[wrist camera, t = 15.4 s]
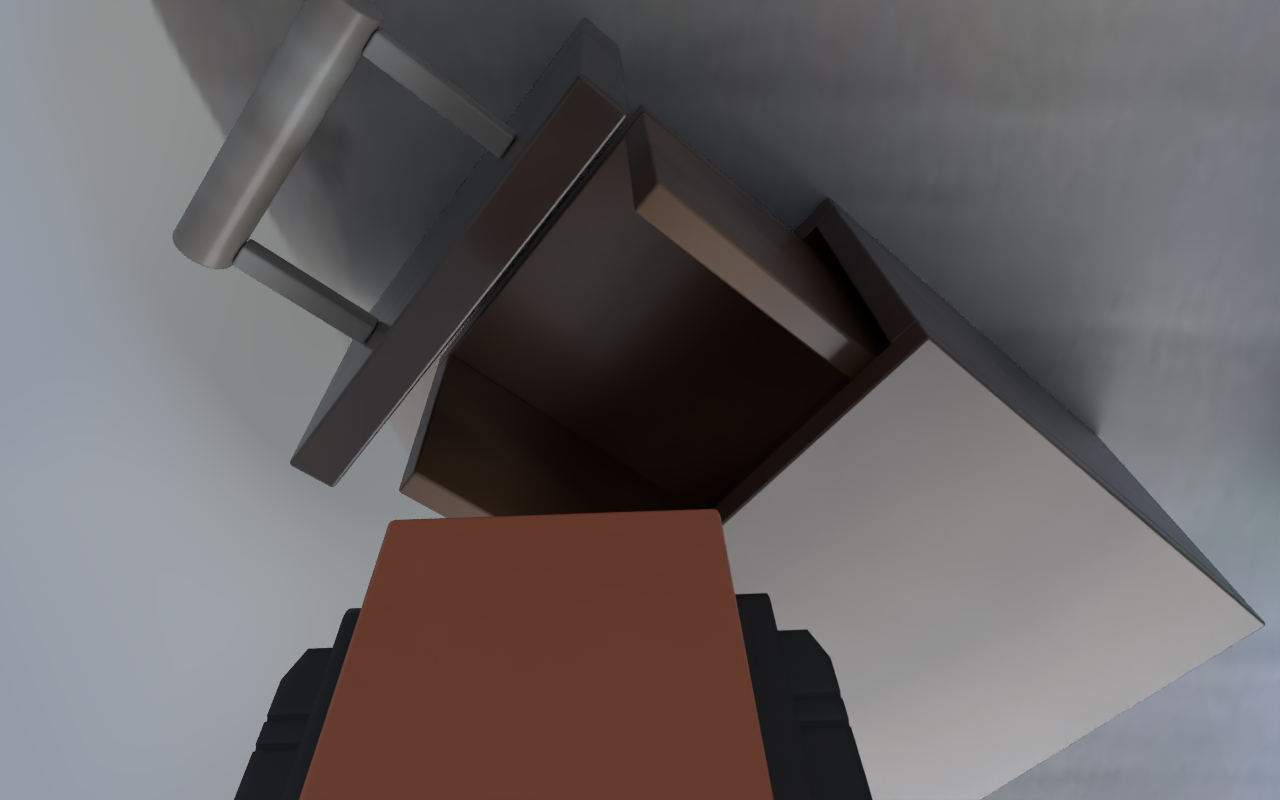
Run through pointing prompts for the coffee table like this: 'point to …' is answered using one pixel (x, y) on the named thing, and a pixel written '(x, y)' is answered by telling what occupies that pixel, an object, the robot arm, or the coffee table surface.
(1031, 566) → the cabinet
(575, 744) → the block
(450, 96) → the drawer
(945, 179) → the coffee table surface
